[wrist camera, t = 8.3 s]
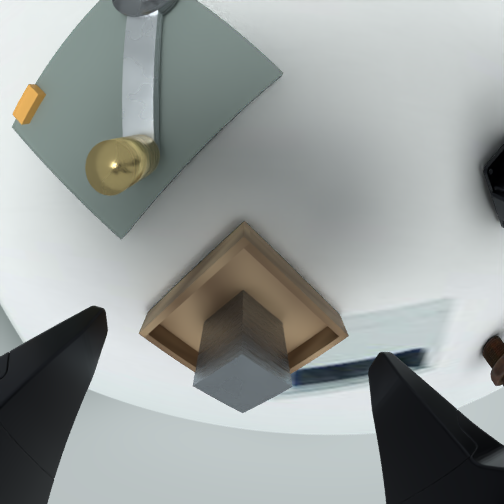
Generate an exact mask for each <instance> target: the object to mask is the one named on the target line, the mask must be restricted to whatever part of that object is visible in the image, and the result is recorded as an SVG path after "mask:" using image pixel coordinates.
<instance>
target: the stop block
mask: <svg viewBox="0 0 504 504" xmlns="http://www.w3.org/2000/svg"><path fill="white" fill-rule="evenodd" d="M193 386H194V387H196V388H197V389H199V390H201V391H203V392H204V393H206V394H208V395H210V396H212V397H213V398H215V399H217V400H219V401H221V402H222V403H224V404H226V405H228V406H230V407H232V408H234V409H236V410H238V411H240V412H242V413H244V412H246V411H248V410H250V409H252V408H254V407H256V406H258V405H260V404H262V403H264V402H265V401H267V400H269V399H271V398H273V397H275V396H277V395H278V394H280V393H282V392H284V391H286V390H287V389H289V388H291V387H292V382H291V375H290V368H289V361H288V355H287V348H286V342H285V335H284V329H283V323H282V322H281V321H280V320H279V319H278V318H277V317H275V316H274V315H273V314H272V313H271V312H269V311H268V310H267V309H266V308H265V307H263V306H262V305H261V304H260V303H259V302H257V301H256V300H255V299H254V298H253V297H251V296H250V295H249V294H248V293H247V292H245V291H244V290H242V291H241V292H240V293H239V294H237V295H236V296H235V297H234V298H233V299H231V300H230V301H229V302H228V303H226V304H225V305H224V306H223V307H222V308H220V309H219V310H218V311H217V312H215V313H214V314H213V315H212V316H211V317H209V318H208V319H207V320H206V321H204V325H203V331H202V336H201V342H200V347H199V353H198V359H197V364H196V370H195V376H194V382H193Z"/></svg>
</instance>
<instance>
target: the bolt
mask: <svg viewBox="0 0 504 504" xmlns="http://www.w3.org/2000/svg"><path fill="white" fill-rule="evenodd" d="M483 356H484V358H485V359H486V361H487V362H488V364H489V365H490V366H491V368H492V371H491V379H492V381H493V383H494V384H495V386H500V385H502V384H503V386H504V343H503V341H502V340H501V338H499V337H498V336H496V337H493V338H491V339H490V340H489V341H488V342H487V343H486V345H485V347H484V349H483Z"/></svg>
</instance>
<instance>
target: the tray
mask: <svg viewBox="0 0 504 504" xmlns="http://www.w3.org/2000/svg"><path fill="white" fill-rule="evenodd" d="M242 290H244V291H245V292H247V293H248V294H249V295H250V296H251V297H253V298H254V299H255V300H256V301H257V302H259V303H260V304H261V305H262V306H263V307H265V308H266V309H267V310H268V311H269V312H271V313H272V314H273V315H274V316H275V317H277V318H278V319H279V320H280V321H281V322H282V323H283V329H284V335H285V342H286V348H287V355H288V361H289V368H290V374H291V373H293V372H295V371H296V370H298V369H299V368H301V367H303V366H304V365H306V364H307V363H309V362H311V361H312V360H314V359H315V358H317V357H318V356H320V355H321V354H323V353H324V352H326V351H327V350H329V349H330V348H332V347H333V346H335V345H336V344H338V343H339V342H341V341H342V340H344V339H345V338H346V337H348V333H347V331H346V329H345V326H344V324H343V321H342V319H341V316H340V315H339V314H338V313H337V312H336V311H335V310H334V309H333V308H332V307H331V306H330V305H329V304H328V303H327V302H326V301H325V300H324V299H323V298H322V297H321V296H320V295H319V294H318V293H317V292H316V291H315V290H314V289H313V288H312V287H311V286H310V285H309V284H308V283H307V282H306V281H305V280H304V279H303V278H302V277H301V276H300V275H299V274H298V273H297V272H296V271H295V270H294V269H293V268H292V267H291V266H290V265H289V264H288V263H287V262H286V261H285V260H284V259H283V258H282V257H281V256H280V255H279V254H278V253H277V252H276V251H275V250H274V249H273V248H272V247H271V246H270V245H269V244H268V243H267V242H266V241H265V240H264V239H263V238H261V237H260V236H259V235H258V234H257V233H256V232H255V231H254V230H253V229H252V228H251V227H250V226H249V225H248V224H247V223H246V222H245V221H244V222H243V223H242V224H241V225H240V226H239V227H237V228H236V229H235V230H234V231H233V232H232V233H231V234H230V235H229V236H228V237H227V238H226V239H224V240H223V241H222V242H221V243H220V244H219V245H218V246H217V247H216V248H215V249H214V250H213V251H212V252H211V253H210V254H208V255H207V256H206V257H205V258H204V259H203V260H202V261H201V262H200V263H199V264H198V265H197V266H196V267H195V268H194V269H193V270H192V271H190V272H189V273H188V274H187V275H186V276H185V277H184V278H183V279H182V280H181V281H180V282H179V283H178V284H177V285H176V286H175V287H174V288H173V289H172V290H171V291H170V292H169V293H168V294H166V295H165V296H164V297H163V298H162V299H161V300H160V301H159V302H158V303H157V304H156V305H155V306H154V307H153V308H152V309H151V310H150V311H149V312H148V313H147V316H146V318H145V320H144V323H143V325H142V327H141V329H140V332H139V334H140V335H141V336H143V337H144V338H146V339H147V340H148V341H150V342H151V343H152V344H154V345H155V346H157V347H158V348H159V349H161V350H162V351H164V352H165V353H167V354H168V355H170V356H171V357H173V358H174V359H175V360H177V361H178V362H180V363H182V364H183V365H185V366H186V367H188V368H189V369H191V370H192V371H194V372H195V370H196V364H197V359H198V353H199V347H200V342H201V336H202V331H203V325H204V321H206V320H207V319H208V318H209V317H211V316H212V315H213V314H214V313H215V312H217V311H218V310H219V309H220V308H222V307H223V306H224V305H225V304H226V303H228V302H229V301H230V300H231V299H233V298H234V297H235V296H236V295H237V294H239V293H240V292H241V291H242Z"/></svg>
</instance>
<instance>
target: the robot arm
mask: <svg viewBox="0 0 504 504" xmlns="http://www.w3.org/2000/svg"><path fill="white" fill-rule="evenodd" d="M489 170H490V171H489ZM484 175H485V178H486V180H487V183H488V186H489V188H490V191H491V194H492V198H493V201H494V204H495V207H496V211H497V214H498V217H499V220H500V223H501V226H502V227H503V228H504V145H503V146H502V147H501V148H500V149H499V151H498V152H497V153H496V154H495V155H494V156H493V158H492V159H491V160H490V161H489V162H488V163H487V164H486V165H485V167H484ZM107 331H108V327H107V319H106V312H105V309H104V308H101V307H97V306H91V307H89V308H87V309H85V310H83V311H81V312H80V313H78V314H76V315H74V316H72V317H70V318H68V319H67V320H65V321H63V322H61V323H59V324H57V325H56V326H54V327H52V328H50V329H48V330H47V331H45V332H43V333H41V334H39V335H38V336H36V337H34V338H32V339H30V340H29V341H27V342H25V343H23V344H22V345H20V346H18V347H17V348H15V349H13V350H11V351H10V353H9V352H7V353H6V354H4V355H2V356H0V504H47V503H48V499H49V495H50V492H51V488H52V485H53V482H54V478H55V475H56V472H57V468H58V465H59V462H60V459H61V456H62V453H63V451H64V448H65V445H66V442H67V439H68V437H69V434H70V431H71V429H72V426H73V423H74V421H75V418H76V416H77V413H78V411H79V408H80V406H81V403H82V401H83V399H84V396H85V394H86V392H87V389H88V387H89V385H90V382H91V380H92V378H93V375H94V372H95V369H96V366H97V363H98V360H99V357H100V354H101V351H102V348H103V345H104V342H105V339H106V336H107ZM368 376H369V385H370V394H371V405H372V413H373V418H374V424H375V429H376V434H377V440H378V446H379V452H380V458H381V464H382V472H383V479H384V488H385V496H386V504H504V445H502V444H501V443H499V442H498V441H496V440H495V439H494V438H492V437H491V436H490V435H488V434H487V433H486V432H484V431H483V430H482V429H480V428H479V427H478V426H476V425H475V424H474V423H472V422H471V421H470V420H469V419H468V418H467V417H465V416H464V415H463V414H462V413H461V412H460V411H459V410H457V409H456V408H455V407H454V406H453V405H452V404H451V403H449V402H448V401H447V400H446V399H445V398H444V397H442V396H441V395H440V394H439V393H438V392H437V391H436V390H434V389H433V388H432V387H431V386H430V385H429V384H427V383H426V382H425V381H424V380H423V379H422V378H420V377H419V376H418V375H417V374H416V373H415V372H413V371H412V370H411V369H410V368H409V367H408V366H406V365H405V364H404V363H403V362H402V361H401V360H399V359H398V358H397V357H396V356H395V355H394V354H392V353H391V352H380V353H379V354H378V355H377V357H376V359H375V360H374V362H373V363H372V365H371V366H370V368H369V372H368Z"/></svg>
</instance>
